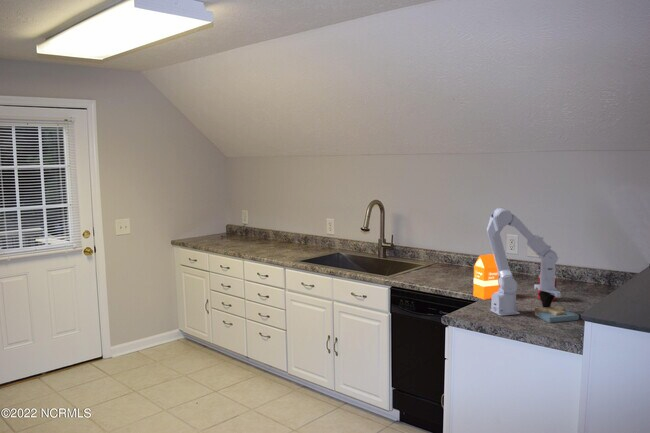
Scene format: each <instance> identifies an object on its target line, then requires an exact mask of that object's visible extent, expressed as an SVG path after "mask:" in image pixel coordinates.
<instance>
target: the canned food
mask: <svg viewBox="0 0 650 433" xmlns="http://www.w3.org/2000/svg"><path fill="white" fill-rule="evenodd" d="M537 284H539V285H540V274H539V275H538V283H537ZM555 288H557V275H555ZM538 293H541V291H540V290H538V289H537V298H538V300H540V301H541V298H540V296H539V295H538ZM556 299H557V297H554V299H553V301H552V302H554V301H556Z"/></svg>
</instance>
